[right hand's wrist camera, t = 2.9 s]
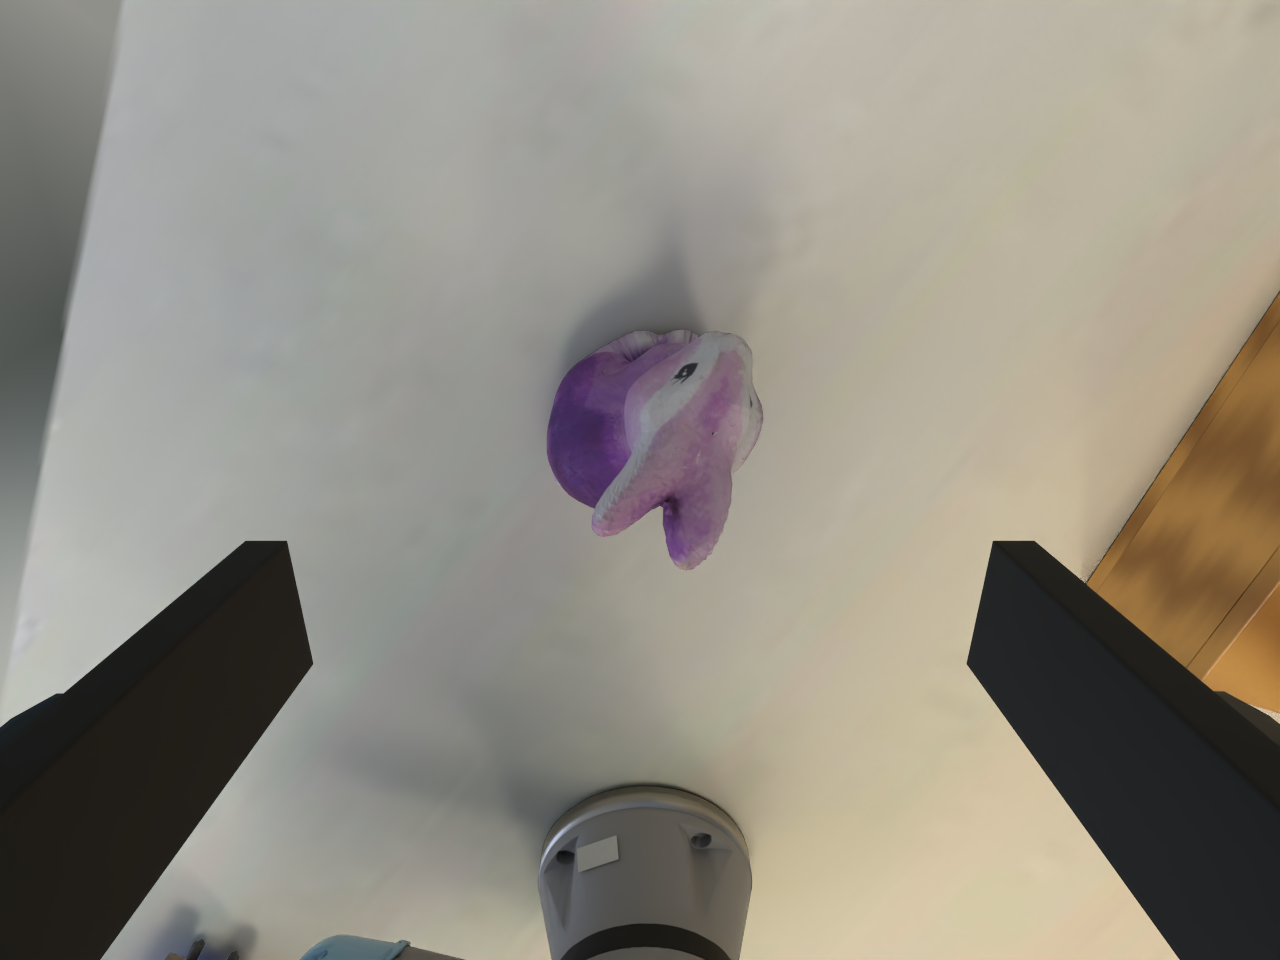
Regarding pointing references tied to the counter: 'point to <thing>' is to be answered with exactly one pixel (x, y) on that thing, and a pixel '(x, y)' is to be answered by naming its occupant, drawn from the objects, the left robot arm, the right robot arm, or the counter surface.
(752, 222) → the counter surface
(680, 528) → the figurine
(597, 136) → the counter surface
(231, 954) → the figurine character
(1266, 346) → the cabinet
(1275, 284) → the counter surface
